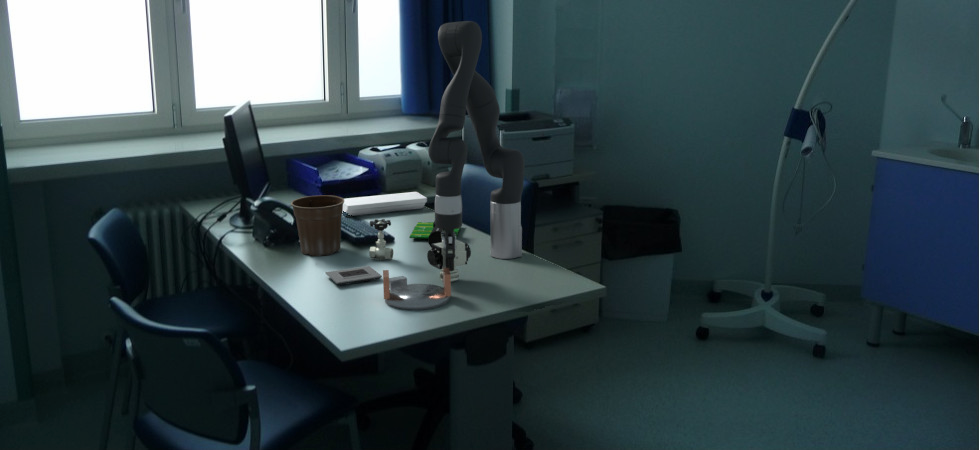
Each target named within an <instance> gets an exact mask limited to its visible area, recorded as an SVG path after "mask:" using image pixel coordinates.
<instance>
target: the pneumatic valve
mask: <svg viewBox="0 0 980 450" xmlns="http://www.w3.org/2000/svg"><path fill="white" fill-rule="evenodd" d="M448 253H452V251H448ZM426 256H427V261H428V264H429V265H430V266H432V267H434V268H436V269H438V270H440V272H439V278H440V280H441V281H442V282H443V268H446V258H445V251H444V250H443V242H441V243H436V244H431V247H430V249H429V250H428V251H427V254H426ZM471 256H472V250H471V247H470V245H469V244H468V243H467V242H466V241H462V240H461V239H456V250H455V258H454V271H450V274H451V283H454V282H458V281H459V277H460V271H459V269H457V267H459V266H460V267H461V266H465V265H468V262H469V258H471Z"/></svg>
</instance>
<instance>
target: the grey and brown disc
mask: <svg viewBox="0 0 980 450" xmlns="http://www.w3.org/2000/svg"><path fill="white" fill-rule="evenodd" d="M389 271H390V270H389V269H385V270H384V269H383V270H382V282H383V284H382V285H383V300H384V302H385V304H386V305H387V306H389V307H391V308H393V309H397V310H400V311H401V310H402V311H411V312H412V311H427V310H432V309H437V308H440V307H442V306H445V305H446V304H447V303H448V302H449V301H450V297H451V296H452V291H451V290H452V285H451V284H452V282H451V274H450V270H449V268H443V281H442V282H443V284H442V285H443V286H440V285H437V284H431V283H430V284H429V283H409V284H408V283H407V285H401V286H397V287H394V288H392V289H390V288H389V278H390V275H389V274H390V272H389Z"/></svg>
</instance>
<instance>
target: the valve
mask: <svg viewBox="0 0 980 450" xmlns="http://www.w3.org/2000/svg"><path fill="white" fill-rule="evenodd" d="M369 225H370V228H371V227H373V228H374V229H375V230H376V231H377V232H378V233H377V238H378V239H377V241H375V245H376V246H370V248H369V250H368V251H369V254H368V255H369V258H370V259H372V260H373V259H374V260H379V261H384V260H388V261H392V260H393V258H394V249H393V248H392V247H386V246H387V241H386V240H385V239H384V238H385V236H384V235H385V234H384V232H383V231H384V230H386V229H387V228H388V226H389V227H390V226H392V222H391V219H385V218H381V219H380V220H379V219H378V218H377V219H374V220H370V221H369Z"/></svg>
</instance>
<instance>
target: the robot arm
mask: <svg viewBox="0 0 980 450" xmlns="http://www.w3.org/2000/svg"><path fill="white" fill-rule="evenodd" d="M482 33H483V32H482V30H481V27H480V25H479V24H478V22H476V21H472V20H463V21H454V22H445V23H443V24H441V25H440V26H439V29H438V31H437V39H438V44H439V48H440V51H441V53H442V55H443V58H444V60H445V61H446V63H447V65H448V67H449V69H450V71H451V74H452V75H453V77H452V79H451V80H450V82H449V83H448V85H447V86H446V88H445V90H444V91H443V95H442V98H441V101H440V110H439V114H438V115H439V116H438V122H437V125H436V127H435V130H434V133H433V135H432V138H431V140H430V143H429V145H428V151H427V152H428V157H429V160H430V161H431V162H432V163H434V164H440V165H441V164H443V165H452V167H451V169H450V170H449V171H441V172H438V173H437V174H436V176H435V198H434V221H435V226H436V227H437V228H439V229H443V232H441V238H442V242H443V250H444V251H445V258H446V268H449V270H450V271H454V269H455V268H454V258H455V250H456V240H457V236H456V234H455V232H453V230H454V229H458V228H461V227H462V226H463V199H462V179H463V178H462V177H463V171H464V168H465V164H466V161H467V157H468V153H469V152H468V146H467V143H466V141H464V140H463V139H461V138H450V137H448V136H449V134H451V133H454V132H459V131H462V130H463V129H464V126H465V122H466V115H468V117H469V120H470V122H471V124H472V127H473V129H474V133H475V136H476V139H477V142H478V146H479V150H480V154H481V158H482V161H483V166H484V168H485V170H486V172H487V174H488V175H489V176H491V177H493V178H496V179H502V183H501V185H502V186H501V187H499V188H495V189H494V190H491V192H490V249H489V250H490V256H491V257H493V258H496V259H500V260H501V259H502V260H503V259H504V260H506V259H507V260H508V259H515V258H516V259H517V258H521V257H523V256H522V255H523V251H522V250H523V248H522V247H523V245H522V244H523V241H522V240H523V235H522V234H523V227H522V223H521V222H522V221H521V220H522V219H521V217H522V216H521V215H522V213H521V212H522V205H521V204H522V203H521V201H522V194H523V191H524V179H525V159H524V155H523V153H522V152H521V151H520V150H518V149H514V148H507V147H503V146H502V145H501V143H500V141H499V138H498V136H497V135H498V134H497V126H498V122H499V119H500V113H501V112H500V111H501V110H500V105H499V103H498V99H497V96H496V93H495V91H494V89H493V87H492V86H491V84H489V82H488V81H487V80H486V79H485V78H484V77H483V76H482V75H481V74H480V73H478V71H476V68H477V64H478V59H479V57H480V53H481V49H482V43H483V42H482V41H483V34H482ZM466 113H467V114H466ZM448 251H452V253H448Z"/></svg>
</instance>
